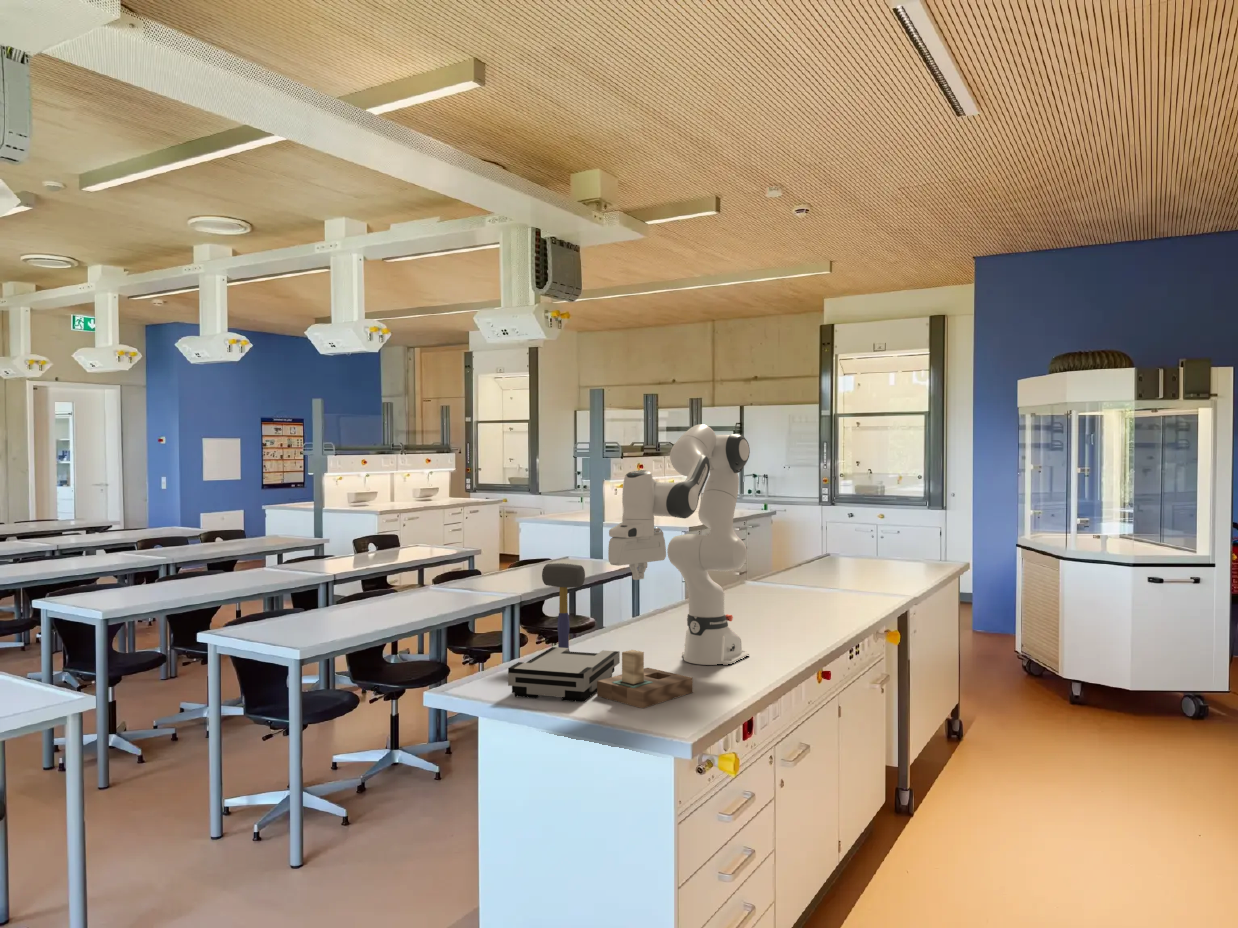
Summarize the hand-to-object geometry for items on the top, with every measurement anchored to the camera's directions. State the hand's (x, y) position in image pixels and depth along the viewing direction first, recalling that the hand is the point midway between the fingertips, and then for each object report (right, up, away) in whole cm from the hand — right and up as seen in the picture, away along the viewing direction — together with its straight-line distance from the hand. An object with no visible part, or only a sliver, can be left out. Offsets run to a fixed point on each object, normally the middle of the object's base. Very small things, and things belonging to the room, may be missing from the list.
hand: (638, 579), depth 230 cm
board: (+2, -29, -10) cm, 31 cm away
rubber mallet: (-23, -29, +30) cm, 48 cm away
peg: (-2, -29, -13) cm, 32 cm away
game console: (-20, -30, -1) cm, 36 cm away
